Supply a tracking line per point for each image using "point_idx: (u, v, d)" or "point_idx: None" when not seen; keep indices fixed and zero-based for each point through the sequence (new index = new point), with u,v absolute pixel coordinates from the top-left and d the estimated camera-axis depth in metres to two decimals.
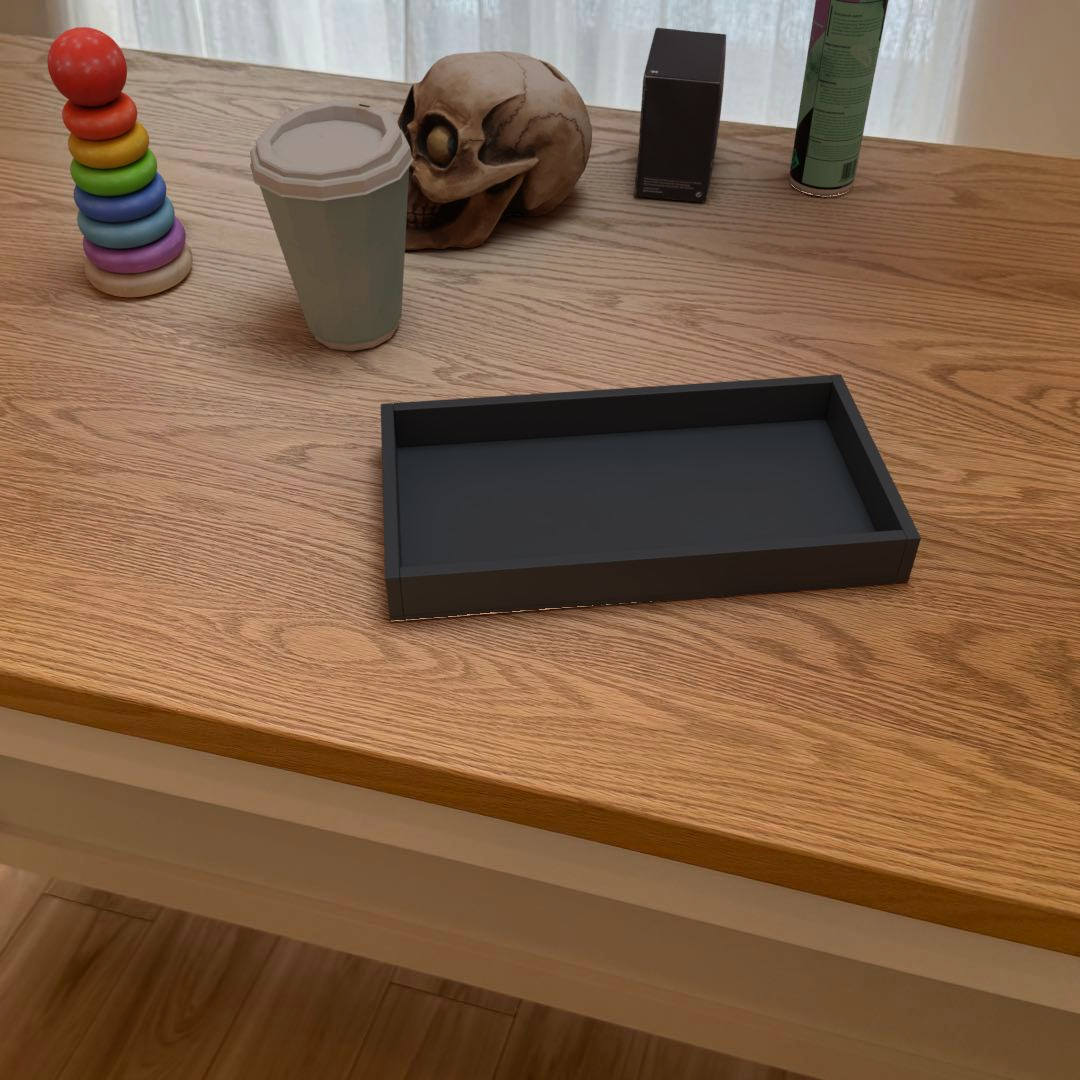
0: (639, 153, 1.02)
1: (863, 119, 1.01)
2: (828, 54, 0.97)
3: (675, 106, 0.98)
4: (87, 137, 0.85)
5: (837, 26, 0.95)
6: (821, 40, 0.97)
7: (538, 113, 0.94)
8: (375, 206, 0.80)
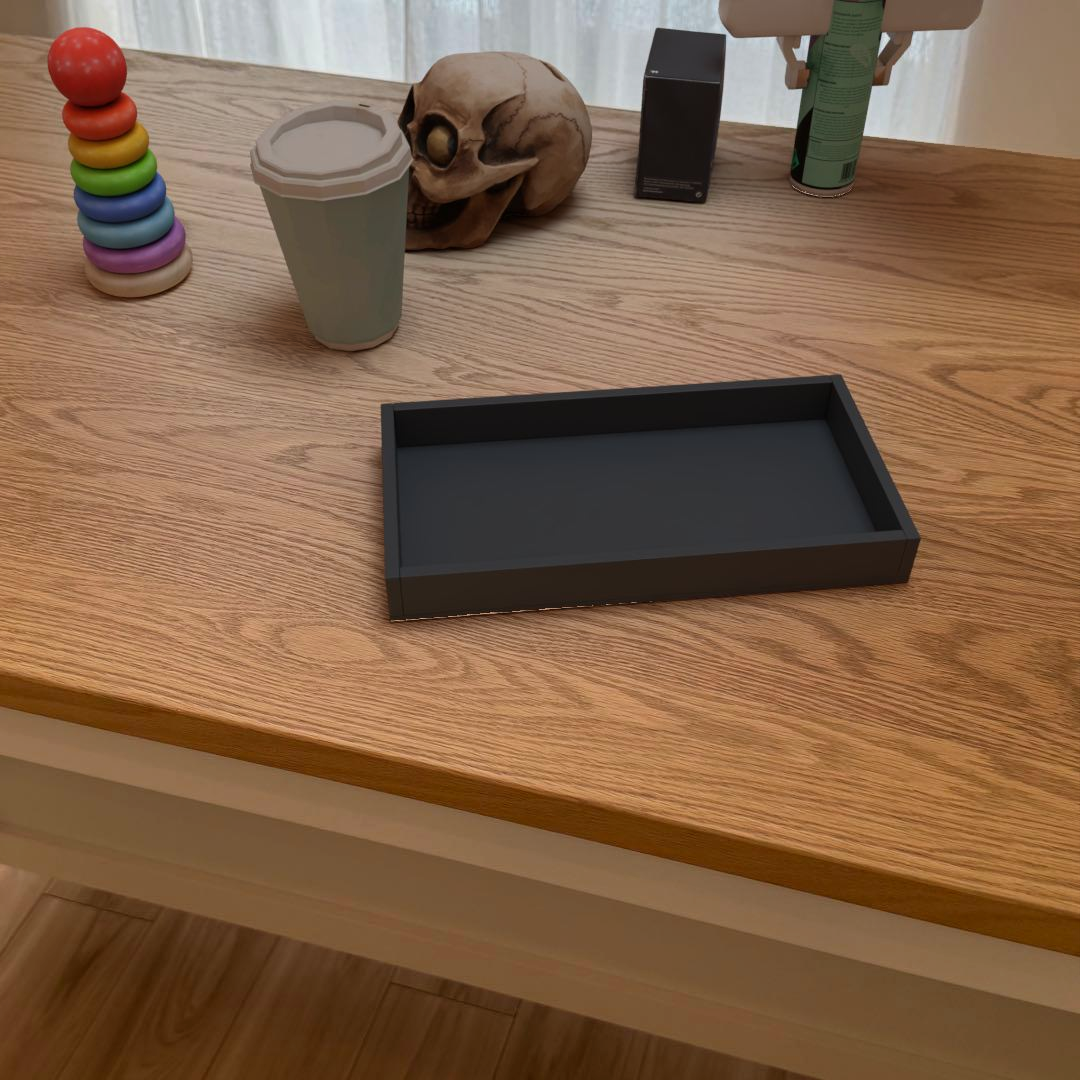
0: (639, 153, 1.02)
1: (863, 119, 1.01)
2: (828, 53, 0.97)
3: (675, 106, 0.98)
4: (87, 137, 0.85)
5: (837, 26, 0.95)
6: (821, 39, 0.97)
7: (538, 113, 0.94)
8: (375, 206, 0.80)
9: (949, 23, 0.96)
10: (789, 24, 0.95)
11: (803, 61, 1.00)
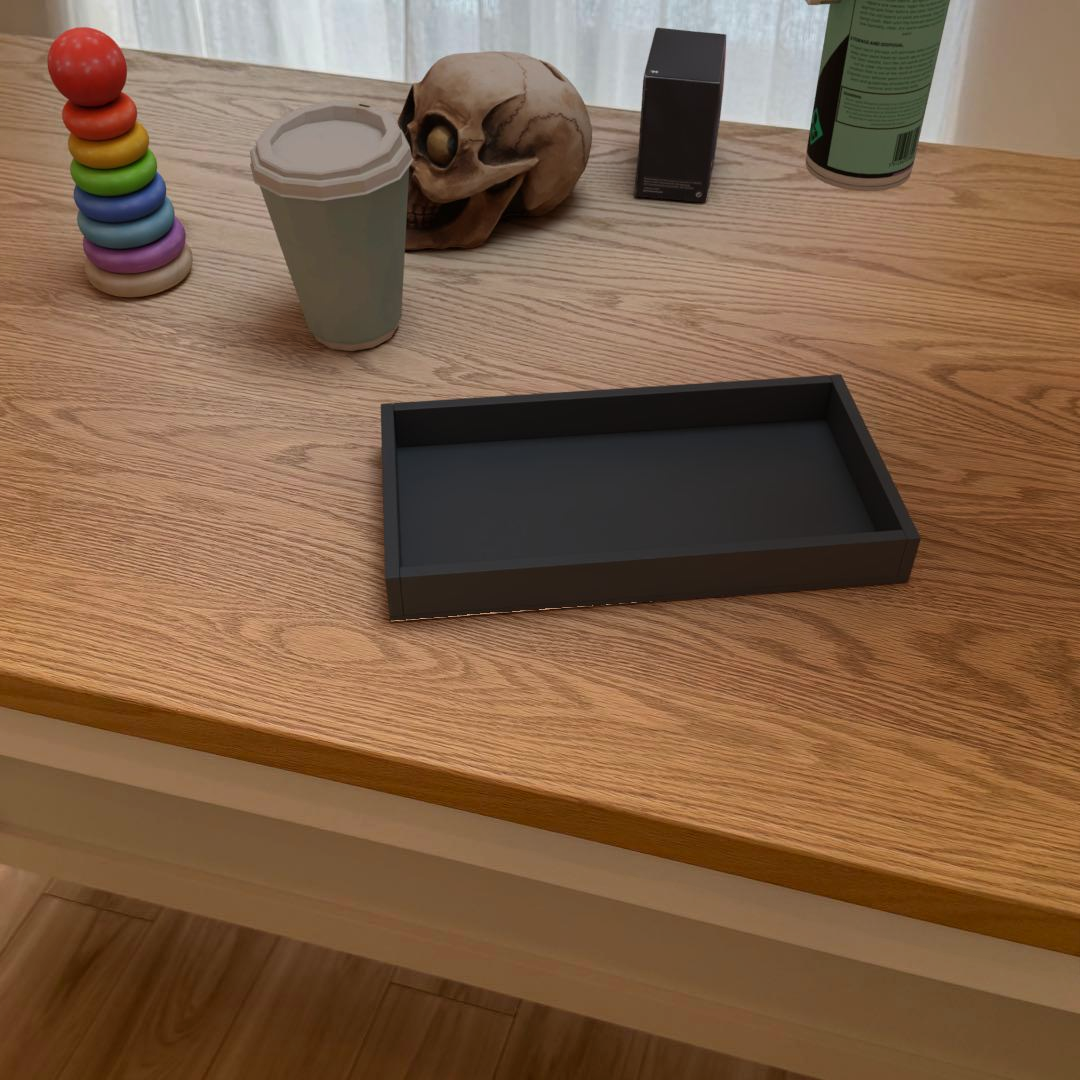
0: (639, 153, 1.02)
1: (933, 57, 0.59)
2: None
3: (675, 106, 0.98)
4: (87, 137, 0.85)
5: None
6: None
7: (538, 113, 0.94)
8: (375, 206, 0.80)
9: None
10: None
11: None
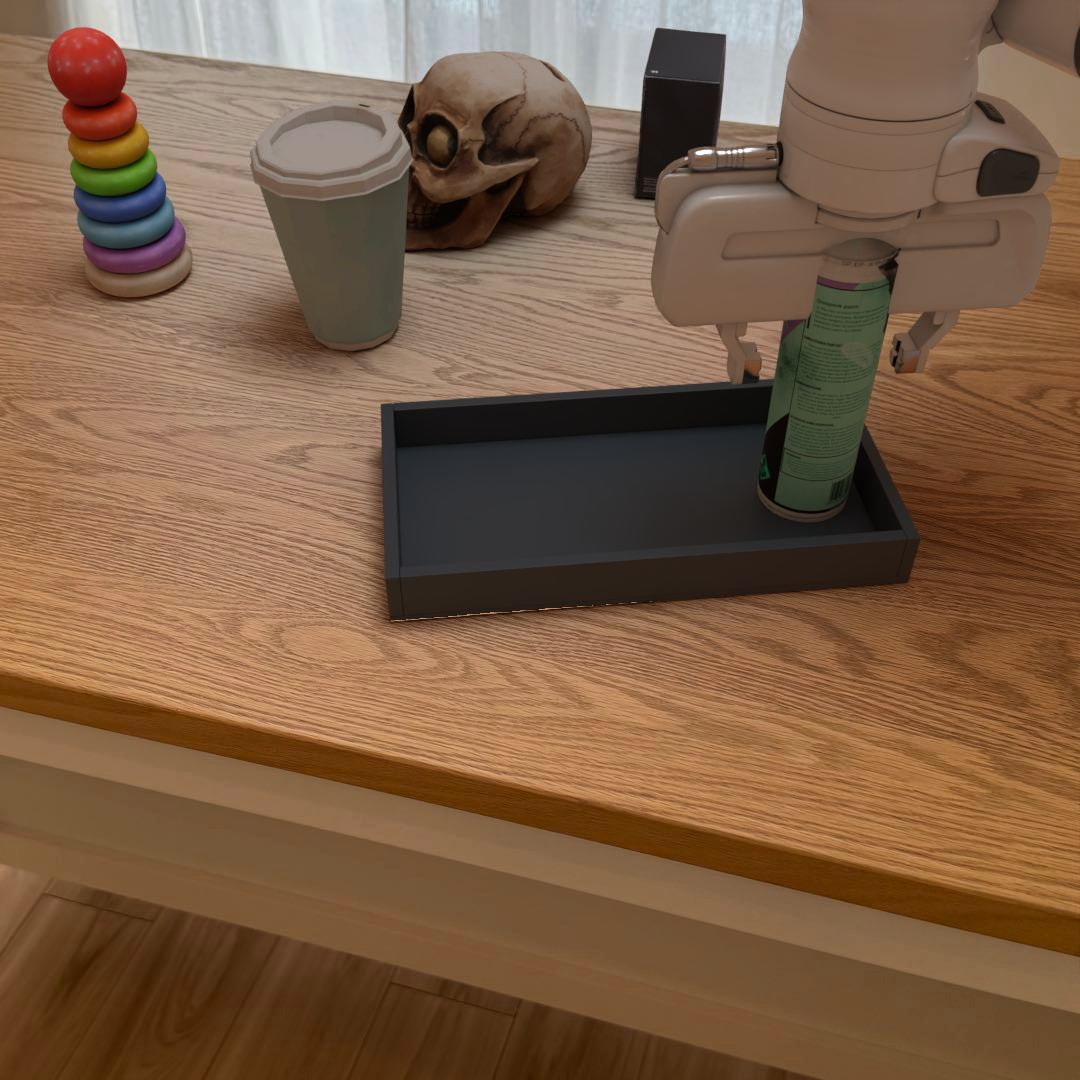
0: (639, 153, 1.02)
1: (861, 427, 0.71)
2: (809, 351, 0.66)
3: (675, 106, 0.98)
4: (87, 137, 0.85)
5: (822, 318, 0.65)
6: (799, 331, 0.66)
7: (538, 113, 0.94)
8: (375, 206, 0.80)
9: (989, 301, 0.66)
10: (754, 309, 0.64)
11: (753, 344, 0.69)
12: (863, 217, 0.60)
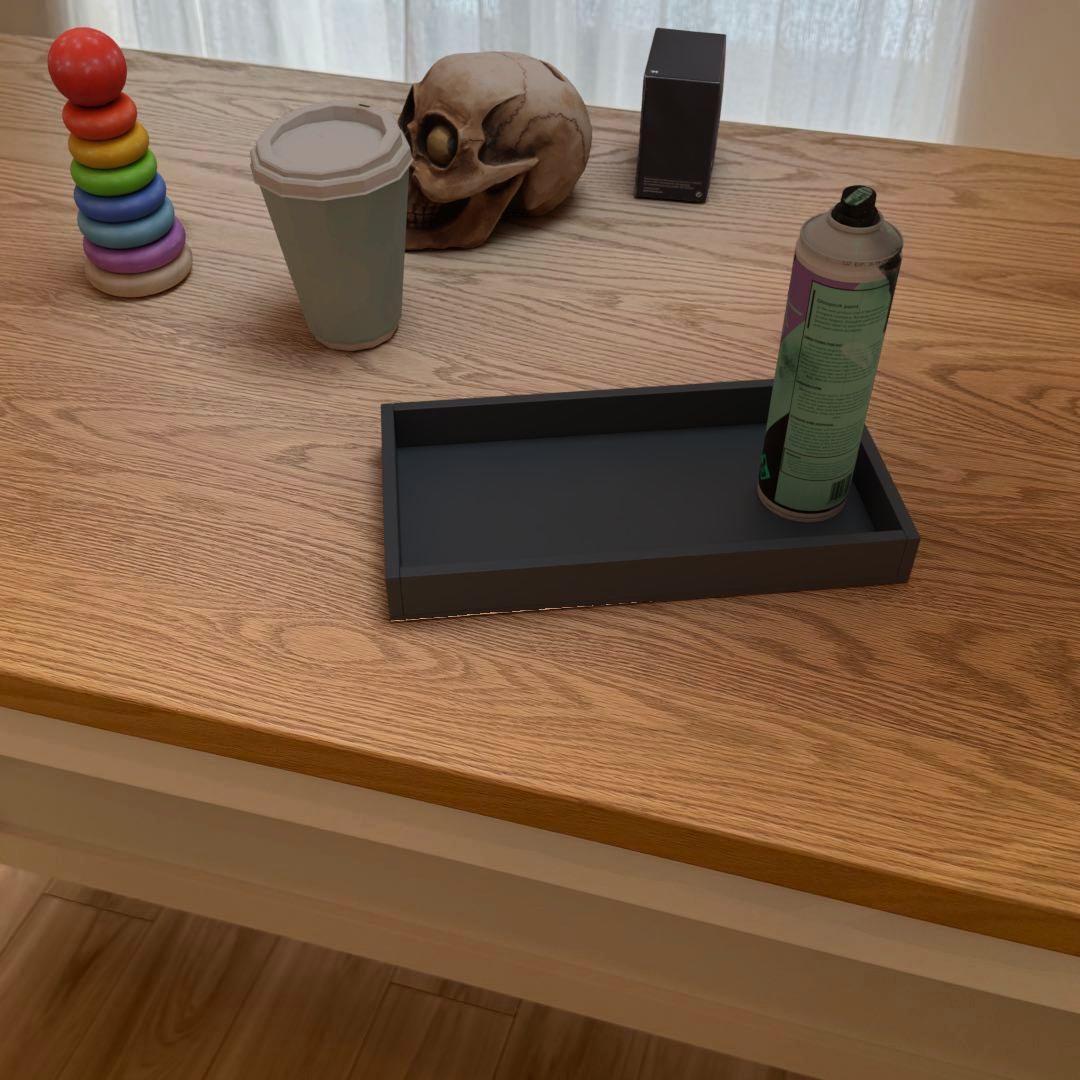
0: (639, 153, 1.02)
1: (861, 427, 0.71)
2: (809, 351, 0.66)
3: (675, 106, 0.98)
4: (87, 137, 0.85)
5: (822, 318, 0.65)
6: (799, 331, 0.66)
7: (538, 113, 0.94)
8: (375, 206, 0.80)
9: None
10: None
11: None
12: None
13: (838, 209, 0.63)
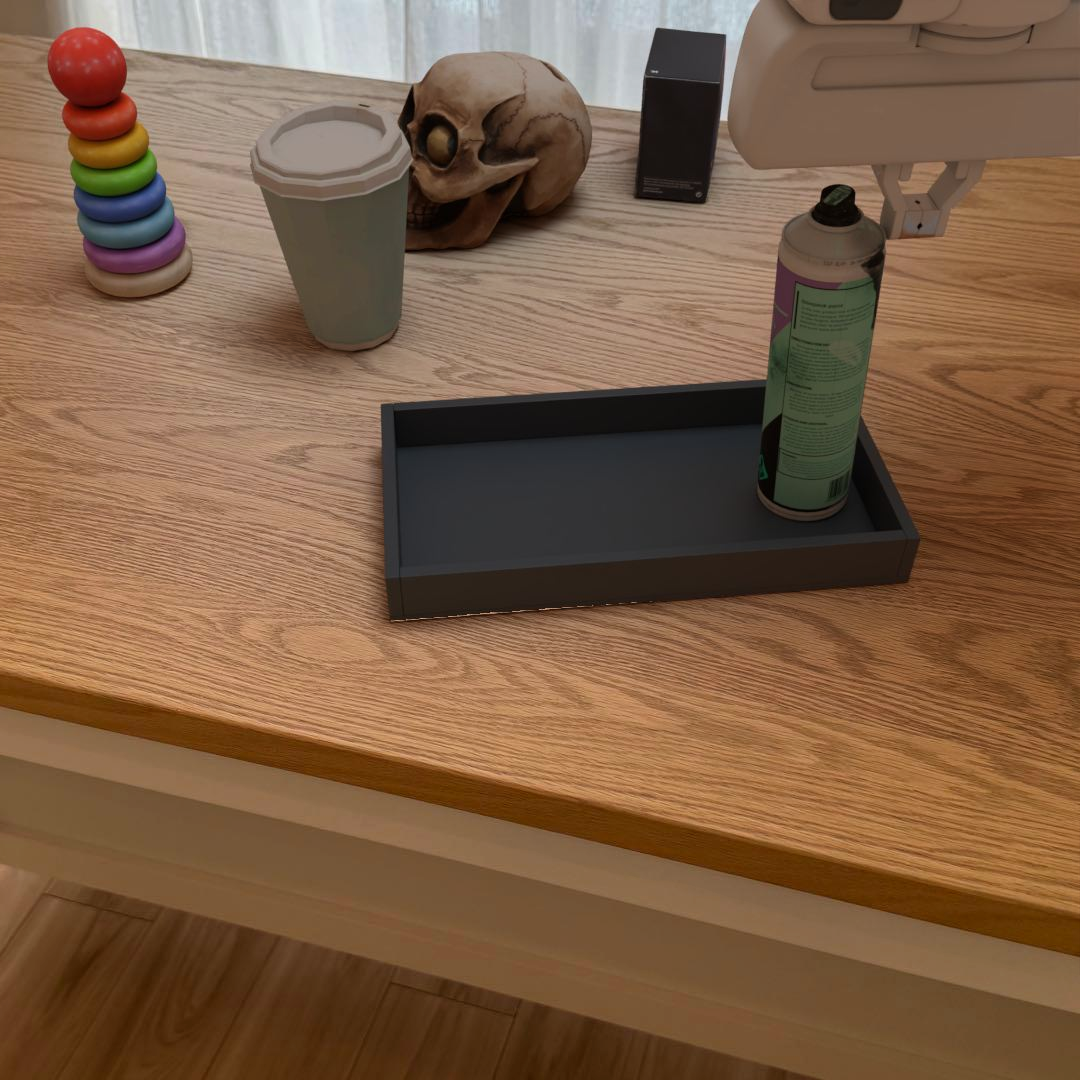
0: (639, 153, 1.02)
1: (855, 424, 0.70)
2: (797, 352, 0.66)
3: (675, 106, 0.98)
4: (87, 137, 0.85)
5: (808, 318, 0.65)
6: (786, 332, 0.66)
7: (538, 113, 0.94)
8: (375, 206, 0.80)
9: None
10: None
11: (924, 208, 0.63)
12: None
13: (818, 209, 0.63)
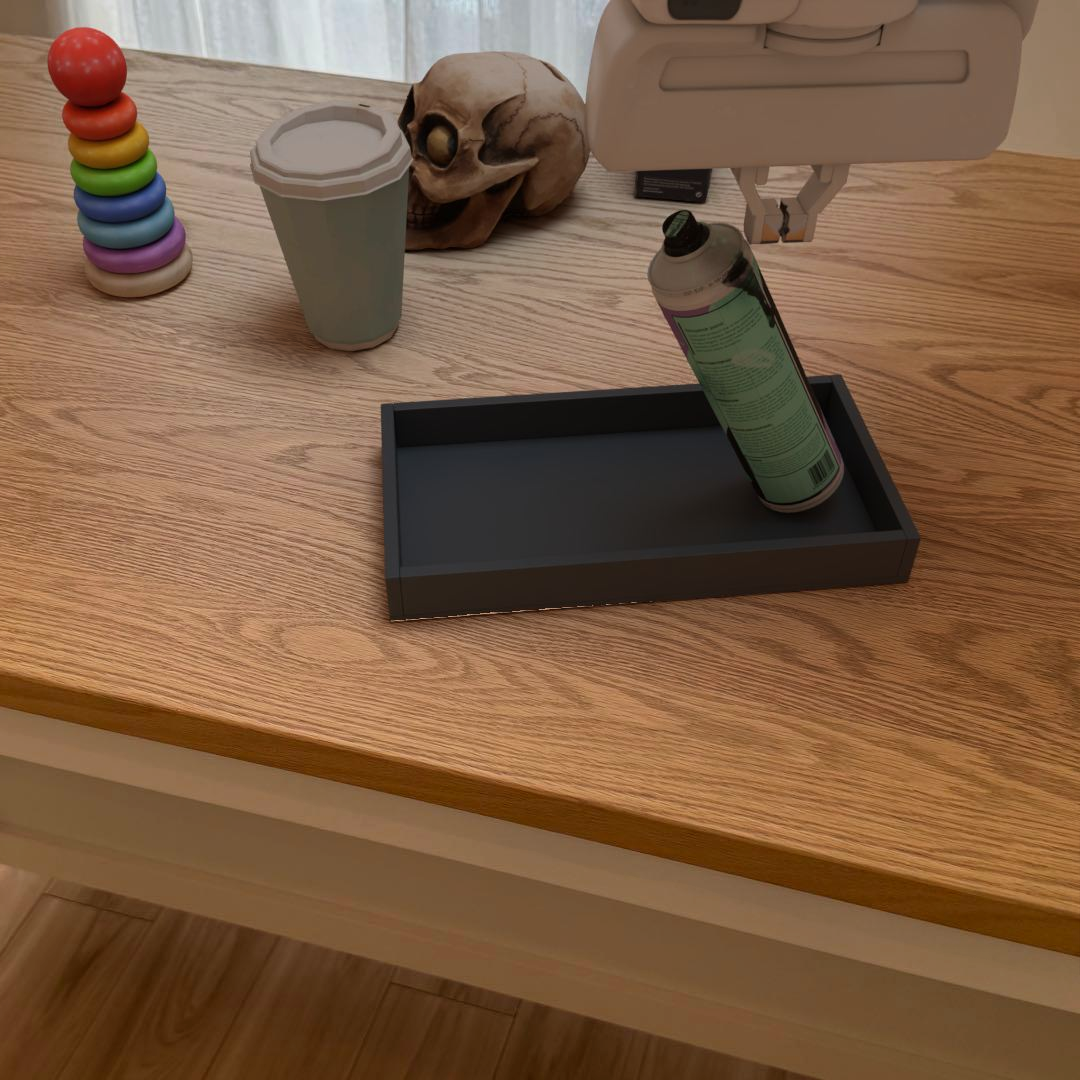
0: None
1: (807, 411, 0.69)
2: (708, 373, 0.66)
3: None
4: (87, 137, 0.85)
5: (699, 343, 0.65)
6: (691, 358, 0.66)
7: (538, 113, 0.94)
8: (375, 206, 0.80)
9: None
10: None
11: (791, 213, 0.62)
12: None
13: (666, 242, 0.63)
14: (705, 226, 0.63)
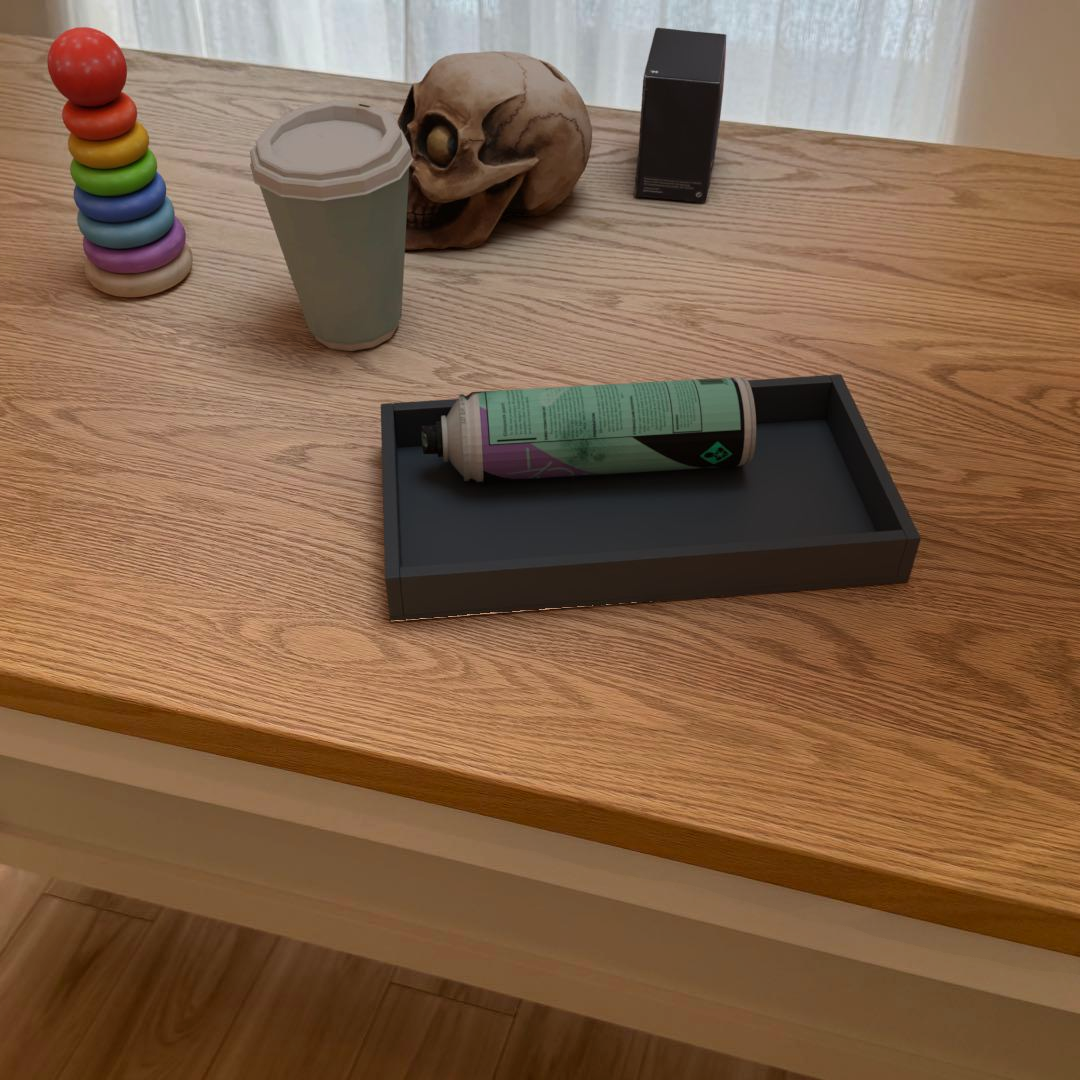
0: (639, 153, 1.02)
1: None
2: (558, 431, 0.73)
3: (675, 106, 0.98)
4: (87, 137, 0.85)
5: (520, 427, 0.73)
6: (544, 446, 0.73)
7: (538, 113, 0.94)
8: (375, 206, 0.80)
9: None
10: None
11: None
12: None
13: (437, 451, 0.75)
14: None
